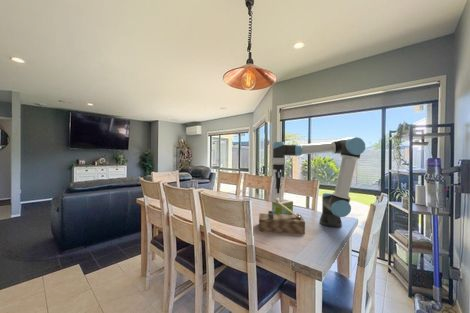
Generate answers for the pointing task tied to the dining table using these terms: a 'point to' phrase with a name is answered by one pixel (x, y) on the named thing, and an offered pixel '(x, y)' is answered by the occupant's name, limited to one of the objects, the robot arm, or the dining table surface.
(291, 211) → the latch bar
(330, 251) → the dining table surface
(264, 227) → the walnut chest
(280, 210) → the tea box
